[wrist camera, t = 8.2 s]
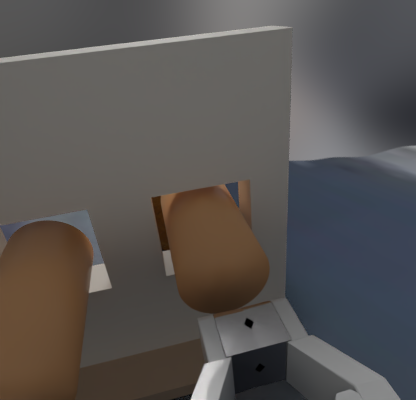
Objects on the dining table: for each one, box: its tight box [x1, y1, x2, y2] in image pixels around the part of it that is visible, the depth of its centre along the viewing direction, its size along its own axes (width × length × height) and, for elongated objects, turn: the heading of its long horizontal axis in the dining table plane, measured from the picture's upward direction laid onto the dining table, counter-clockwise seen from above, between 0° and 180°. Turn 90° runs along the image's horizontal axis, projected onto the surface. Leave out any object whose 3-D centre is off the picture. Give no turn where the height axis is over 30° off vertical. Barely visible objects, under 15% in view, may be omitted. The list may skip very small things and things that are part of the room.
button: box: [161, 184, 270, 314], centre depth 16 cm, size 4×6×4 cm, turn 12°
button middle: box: [0, 221, 93, 400], centre depth 12 cm, size 4×6×4 cm, turn 13°
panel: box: [0, 26, 293, 400], centre depth 16 cm, size 22×7×16 cm, turn 102°
